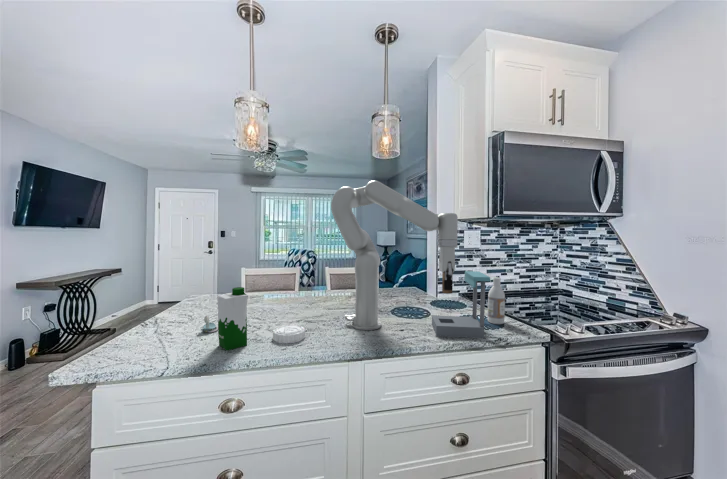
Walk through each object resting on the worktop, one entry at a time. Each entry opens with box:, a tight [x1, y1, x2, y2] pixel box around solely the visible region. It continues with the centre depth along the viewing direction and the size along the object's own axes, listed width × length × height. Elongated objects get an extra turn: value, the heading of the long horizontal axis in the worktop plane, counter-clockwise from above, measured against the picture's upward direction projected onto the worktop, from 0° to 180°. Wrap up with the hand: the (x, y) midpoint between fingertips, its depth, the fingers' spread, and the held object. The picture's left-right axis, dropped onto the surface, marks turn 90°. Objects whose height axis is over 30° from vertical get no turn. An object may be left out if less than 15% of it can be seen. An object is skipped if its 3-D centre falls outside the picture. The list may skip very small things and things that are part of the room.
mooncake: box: [272, 324, 306, 344], centre depth 117 cm, size 12×12×4 cm
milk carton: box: [216, 286, 249, 351], centre depth 108 cm, size 9×9×20 cm
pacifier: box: [200, 315, 218, 333], centre depth 123 cm, size 7×6×6 cm
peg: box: [441, 268, 454, 295], centre depth 125 cm, size 4×4×10 cm
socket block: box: [431, 314, 485, 339], centre depth 125 cm, size 18×14×4 cm
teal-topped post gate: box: [464, 270, 491, 328], centre depth 124 cm, size 6×15×24 cm, turn 174°
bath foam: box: [487, 276, 506, 325], centre depth 137 cm, size 7×7×20 cm
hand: (447, 288), depth 125 cm, fingers closed on peg, 4 cm apart
